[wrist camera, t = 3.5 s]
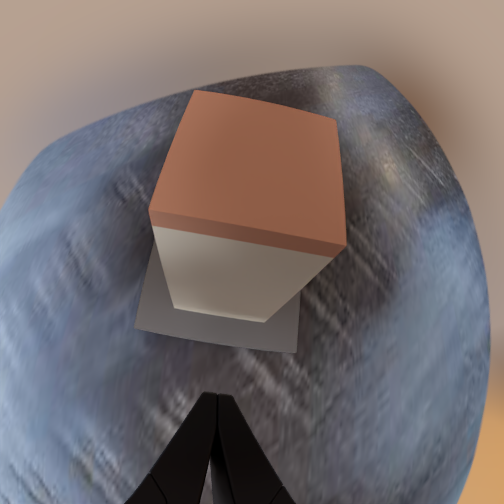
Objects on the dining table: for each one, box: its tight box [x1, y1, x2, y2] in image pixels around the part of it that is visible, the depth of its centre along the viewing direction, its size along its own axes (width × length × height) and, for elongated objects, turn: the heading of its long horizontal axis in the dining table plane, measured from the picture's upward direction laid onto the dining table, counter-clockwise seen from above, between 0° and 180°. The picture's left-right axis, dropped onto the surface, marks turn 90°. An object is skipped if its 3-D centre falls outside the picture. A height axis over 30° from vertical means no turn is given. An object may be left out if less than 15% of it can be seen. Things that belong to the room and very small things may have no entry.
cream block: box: [148, 90, 347, 323], centre depth 13 cm, size 5×5×10 cm
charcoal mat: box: [134, 240, 301, 353], centre depth 19 cm, size 17×9×1 cm, turn 174°
